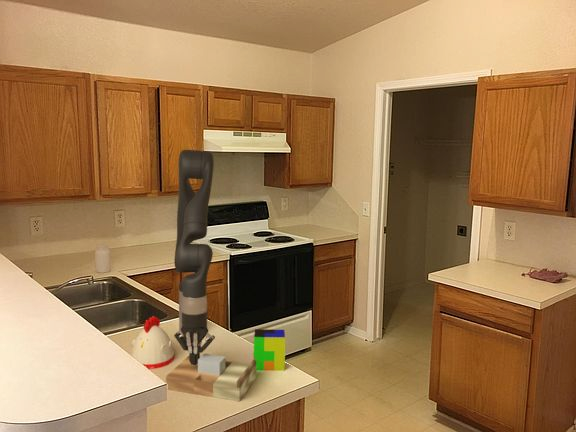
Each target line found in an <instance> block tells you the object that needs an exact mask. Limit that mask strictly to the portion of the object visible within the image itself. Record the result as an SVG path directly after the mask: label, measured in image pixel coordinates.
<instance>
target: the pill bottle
mask: <svg viewBox="0 0 576 432" xmlns="http://www.w3.org/2000/svg"><path fill="white" fill-rule="evenodd" d="M96 248H97V249H96V250H95V251H94V262H95V272H96V273H99V274H101V273H102V274H105V273H109V272H111V270H112V269H111V266H112V265H111V251H110V249H108V244H105V243H101V244H97V246H96Z"/></svg>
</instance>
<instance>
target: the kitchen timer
mask: <svg viewBox="0 0 576 432" xmlns="http://www.w3.org/2000/svg"><path fill="white" fill-rule="evenodd" d="M160 324H161V319H159V317H156V316H155V315H152V316H151V317H149V318H148V319H146V320H145V324H143V325H142V327H143V329H142V330H141V331H140V332H139V334H138V335H137V337H136V338H133V340H132V343H131V347H132V350H131V353H130V357H131V356H133V357H134V358H135V359H136V360H138V361H139V362H140V363H142V364H143V365H144V366H146V367H147V368H148V369H147V370H155V369H159V368H163V367H167V366H168V365H170V364H172V362H174V359H175V351H174V347H173V340H171V338H170V336H169V335H168V333H167V332H166V331H165V330H164V329H163V328H162V327H160Z"/></svg>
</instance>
